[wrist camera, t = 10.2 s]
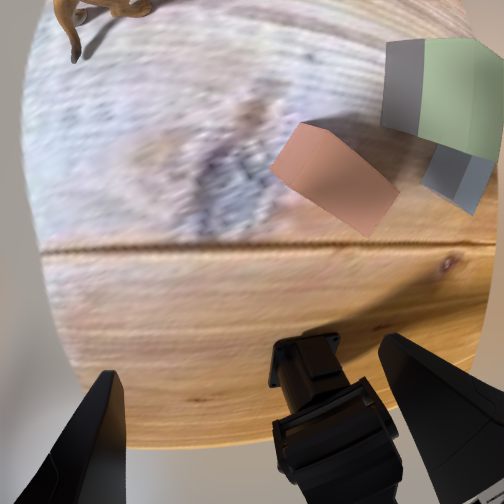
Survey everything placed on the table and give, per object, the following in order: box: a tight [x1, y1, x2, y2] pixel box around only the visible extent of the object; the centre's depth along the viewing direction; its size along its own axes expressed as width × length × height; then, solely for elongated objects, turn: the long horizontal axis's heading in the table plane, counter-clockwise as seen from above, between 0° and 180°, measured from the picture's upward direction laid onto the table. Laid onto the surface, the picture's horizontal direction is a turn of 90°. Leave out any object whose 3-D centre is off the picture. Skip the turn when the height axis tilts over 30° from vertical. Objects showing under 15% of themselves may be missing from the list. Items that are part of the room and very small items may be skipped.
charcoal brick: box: [380, 39, 425, 136], centre depth 15 cm, size 6×4×4 cm, turn 177°
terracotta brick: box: [269, 123, 400, 238], centre depth 18 cm, size 6×4×4 cm, turn 58°
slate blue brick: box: [421, 143, 496, 216], centre depth 19 cm, size 6×4×4 cm, turn 158°
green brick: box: [417, 38, 504, 163], centre depth 12 cm, size 6×4×4 cm, turn 177°
